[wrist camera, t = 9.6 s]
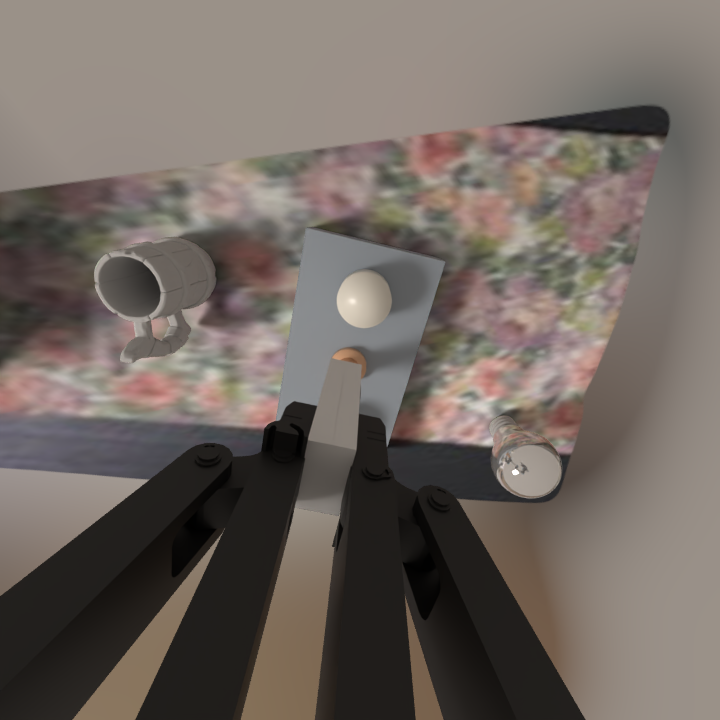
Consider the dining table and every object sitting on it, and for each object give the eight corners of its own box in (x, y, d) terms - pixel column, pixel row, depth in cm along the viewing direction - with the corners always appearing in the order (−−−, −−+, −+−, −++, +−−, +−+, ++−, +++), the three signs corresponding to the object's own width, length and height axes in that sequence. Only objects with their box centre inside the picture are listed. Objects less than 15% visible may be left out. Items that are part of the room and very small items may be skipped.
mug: (216, 238, 38) (151, 246, 27) (224, 340, 42) (171, 383, 31) (147, 233, 38) (53, 238, 27) (162, 335, 42) (87, 376, 31)
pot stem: (327, 376, 39) (318, 409, 32) (334, 343, 38) (325, 371, 31) (362, 383, 39) (359, 418, 32) (370, 351, 38) (369, 381, 31)
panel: (279, 427, 47) (271, 445, 43) (312, 226, 37) (306, 227, 33) (380, 448, 47) (380, 467, 44) (438, 257, 38) (445, 261, 34)
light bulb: (487, 451, 47) (523, 523, 36) (461, 415, 45) (491, 479, 34) (535, 427, 45) (587, 494, 34) (510, 388, 43) (558, 446, 32)
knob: (338, 304, 40) (331, 321, 33) (347, 259, 38) (342, 267, 31) (382, 315, 40) (384, 333, 33) (393, 270, 38) (398, 280, 32)
